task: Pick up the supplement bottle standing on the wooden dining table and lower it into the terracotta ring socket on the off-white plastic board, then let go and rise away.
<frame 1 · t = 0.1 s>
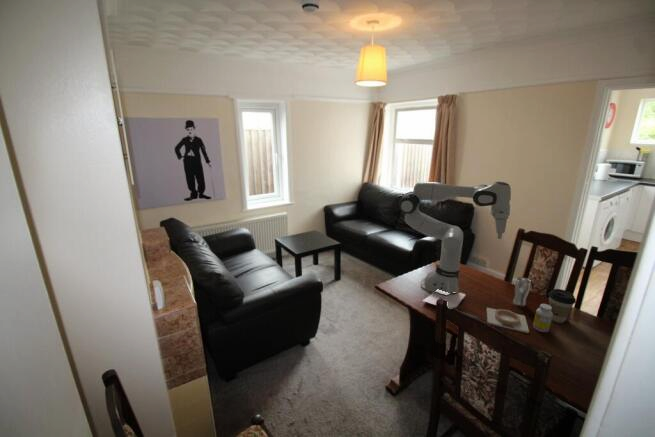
hand: (498, 235, 166), 39 cm above the table, tool pointing down, fingers open, 8 cm apart
beer glass: (518, 303, 171), on the table
supplement bottle: (540, 328, 150), on the table
coffee cup: (556, 318, 157), on the table
ring socket: (506, 320, 156), on the table
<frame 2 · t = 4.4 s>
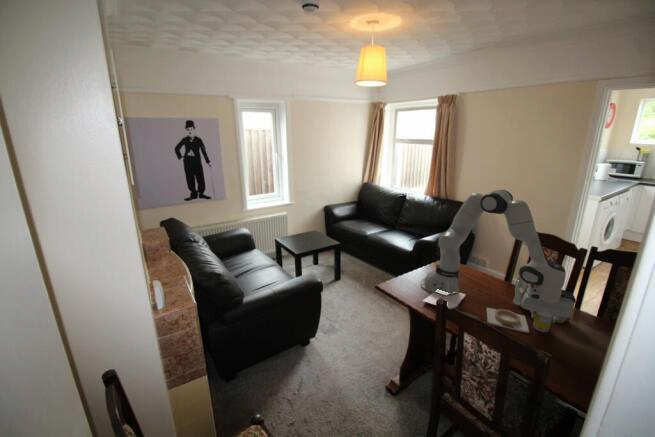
hand: (542, 319, 148), 5 cm above the table, tool pointing down, fingers closed on supplement bottle, 7 cm apart
supplement bottle: (540, 328, 150), on the table, touching gripper
everything else where it was.
when the fingers open (8 cm above the table, at t = 10.8 s): supplement bottle stays where it is, resting on ring socket.
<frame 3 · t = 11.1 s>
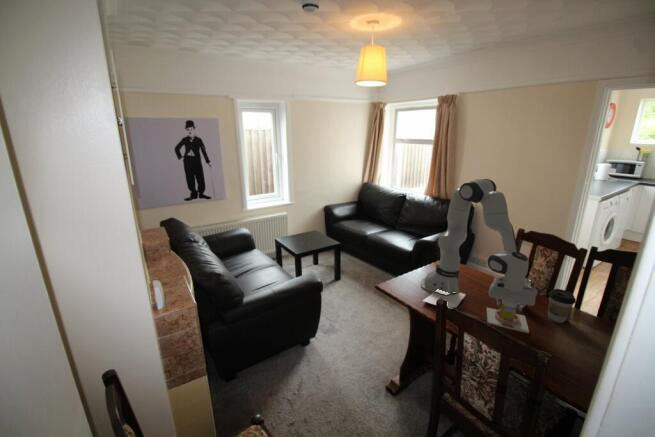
hand: (508, 307, 154), 8 cm above the table, tool pointing down, fingers open, 8 cm apart
supplement bottle: (506, 318, 156), point 1 cm above the table, touching ring socket
everything else where it was.
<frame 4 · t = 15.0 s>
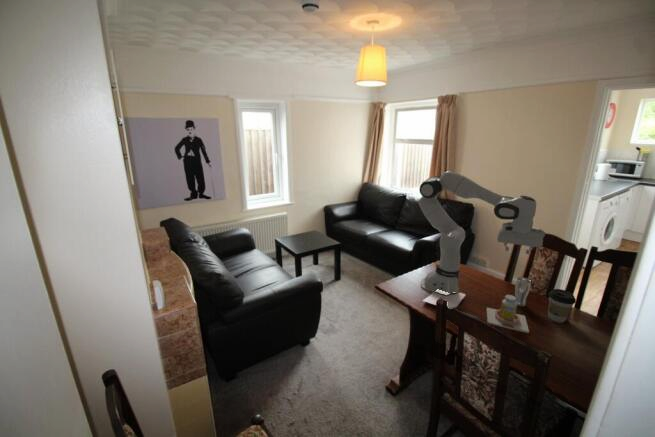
hand: (516, 251, 158), 33 cm above the table, tool pointing down, fingers open, 8 cm apart
nothing on the table moved.
at the end: supplement bottle 0.1 cm off-centre on the ring socket, point 0.8 cm above the ring socket's base; supplement bottle tilted 0°; the gripper is holding nothing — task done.
